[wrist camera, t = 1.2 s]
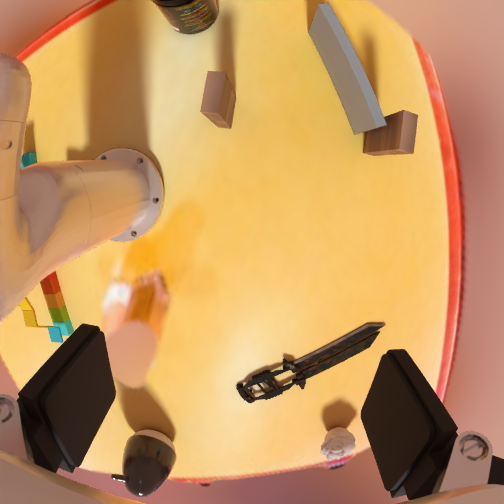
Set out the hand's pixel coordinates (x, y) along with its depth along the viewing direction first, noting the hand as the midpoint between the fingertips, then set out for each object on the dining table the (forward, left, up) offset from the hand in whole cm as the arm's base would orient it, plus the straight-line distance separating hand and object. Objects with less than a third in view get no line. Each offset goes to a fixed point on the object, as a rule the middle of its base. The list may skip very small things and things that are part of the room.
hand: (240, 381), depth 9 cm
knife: (+11, -20, -31) cm, 39 cm away
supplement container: (-13, +27, -30) cm, 42 cm away
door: (+7, +20, -30) cm, 36 cm away
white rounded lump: (+20, -36, -30) cm, 52 cm away
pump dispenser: (-14, -46, -30) cm, 57 cm away
